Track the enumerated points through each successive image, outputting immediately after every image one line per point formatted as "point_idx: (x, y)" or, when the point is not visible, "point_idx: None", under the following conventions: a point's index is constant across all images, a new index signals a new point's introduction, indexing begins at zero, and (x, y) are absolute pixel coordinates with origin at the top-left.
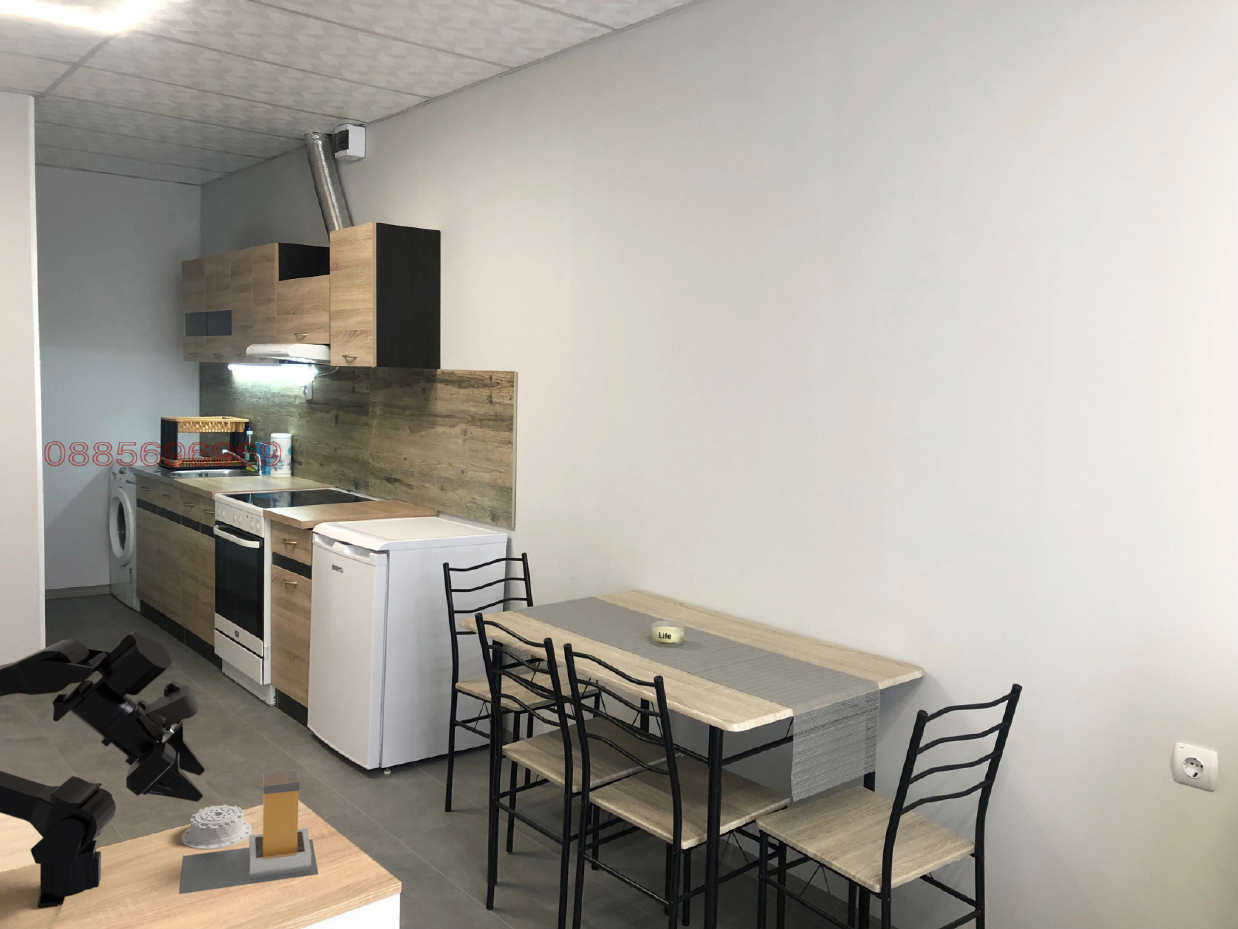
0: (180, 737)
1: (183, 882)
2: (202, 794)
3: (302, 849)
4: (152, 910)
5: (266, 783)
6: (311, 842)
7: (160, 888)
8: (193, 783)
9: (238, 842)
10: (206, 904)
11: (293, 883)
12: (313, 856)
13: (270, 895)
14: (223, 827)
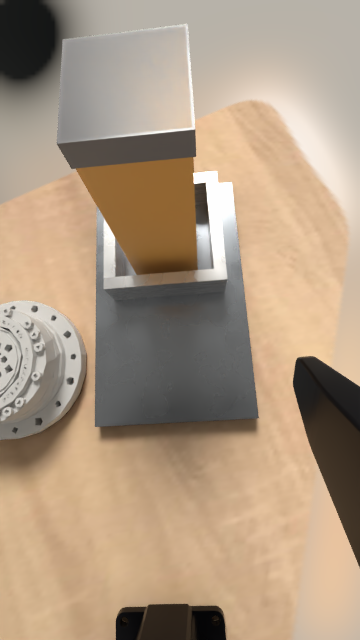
0: None
1: (212, 414)
2: (311, 357)
3: None
4: (282, 465)
5: (170, 122)
6: None
7: (196, 459)
8: (351, 411)
9: (68, 321)
10: (277, 365)
11: None
12: None
13: (264, 260)
14: (45, 345)
